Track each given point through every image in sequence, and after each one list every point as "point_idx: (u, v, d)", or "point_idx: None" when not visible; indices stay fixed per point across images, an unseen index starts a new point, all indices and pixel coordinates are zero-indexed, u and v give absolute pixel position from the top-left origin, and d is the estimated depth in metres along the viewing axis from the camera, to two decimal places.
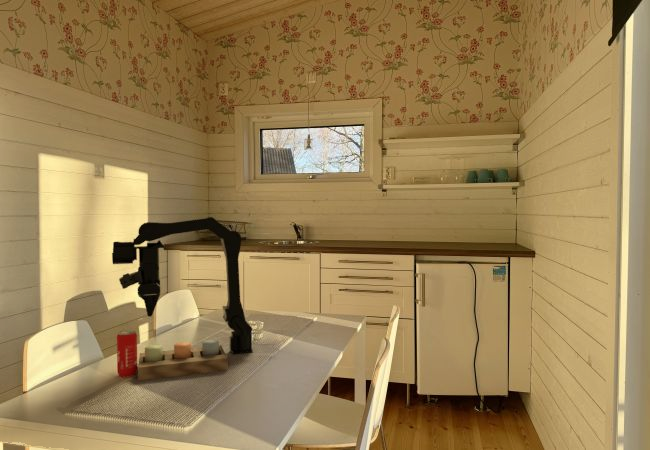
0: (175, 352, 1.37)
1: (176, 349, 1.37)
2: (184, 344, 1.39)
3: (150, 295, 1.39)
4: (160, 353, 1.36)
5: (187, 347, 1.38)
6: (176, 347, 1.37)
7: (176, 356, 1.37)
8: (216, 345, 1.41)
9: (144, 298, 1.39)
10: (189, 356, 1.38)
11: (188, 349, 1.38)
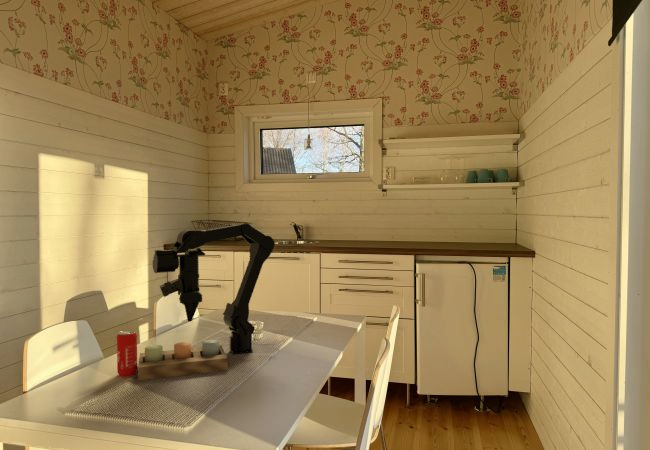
0: (175, 352, 1.37)
1: (176, 349, 1.37)
2: (184, 344, 1.39)
3: None
4: (160, 353, 1.36)
5: (187, 347, 1.38)
6: (176, 347, 1.37)
7: (176, 356, 1.37)
8: (216, 345, 1.41)
9: (185, 304, 1.44)
10: (189, 356, 1.38)
11: (188, 349, 1.38)
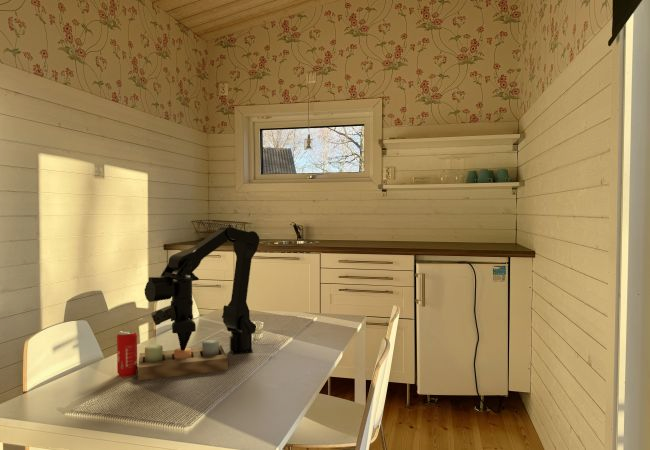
0: (175, 358, 1.37)
1: (176, 355, 1.37)
2: None
3: None
4: (160, 353, 1.36)
5: (187, 353, 1.38)
6: (176, 353, 1.37)
7: None
8: (216, 345, 1.41)
9: None
10: None
11: (188, 355, 1.38)
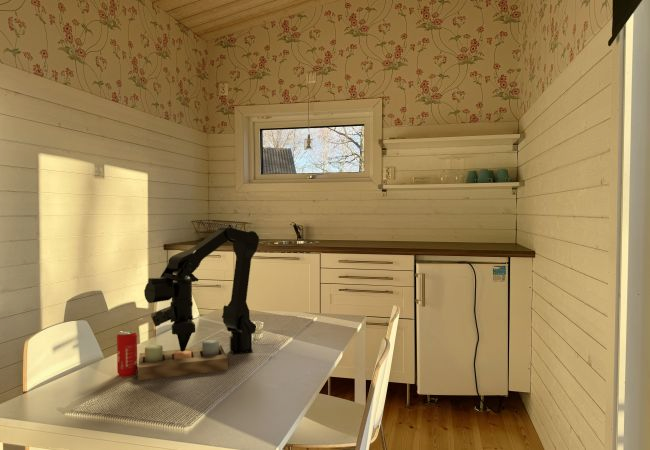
0: None
1: (176, 358, 1.37)
2: (184, 352, 1.39)
3: None
4: (160, 353, 1.36)
5: (187, 356, 1.38)
6: (176, 356, 1.37)
7: None
8: (216, 345, 1.41)
9: (177, 333, 1.36)
10: None
11: None
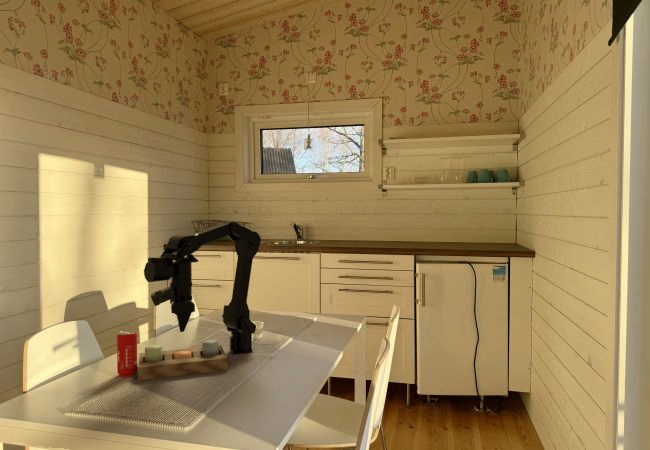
0: None
1: (176, 358, 1.37)
2: (184, 352, 1.39)
3: None
4: (160, 353, 1.36)
5: (187, 356, 1.38)
6: (176, 356, 1.37)
7: None
8: (216, 345, 1.41)
9: (177, 313, 1.36)
10: None
11: None
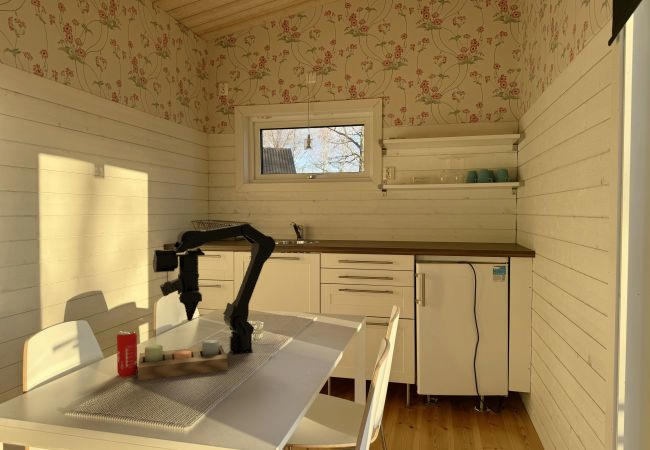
0: None
1: (176, 358, 1.37)
2: (184, 352, 1.39)
3: None
4: (160, 353, 1.36)
5: (187, 356, 1.38)
6: (176, 356, 1.37)
7: None
8: (216, 345, 1.41)
9: (185, 303, 1.45)
10: None
11: None
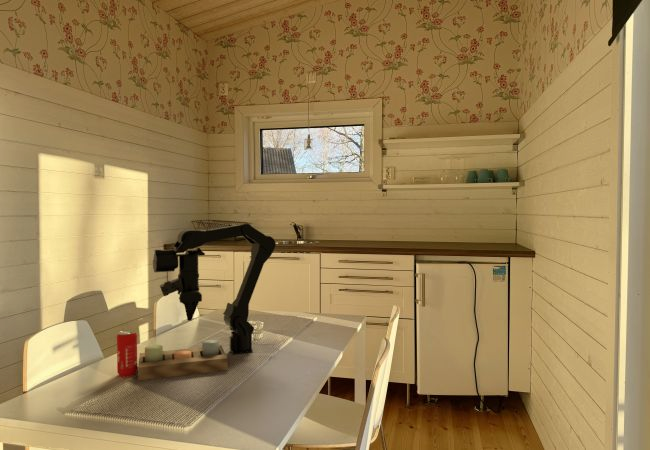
0: None
1: (176, 358, 1.37)
2: (184, 352, 1.39)
3: None
4: (160, 353, 1.36)
5: (187, 356, 1.38)
6: (176, 356, 1.37)
7: None
8: (216, 345, 1.41)
9: (185, 303, 1.45)
10: None
11: None
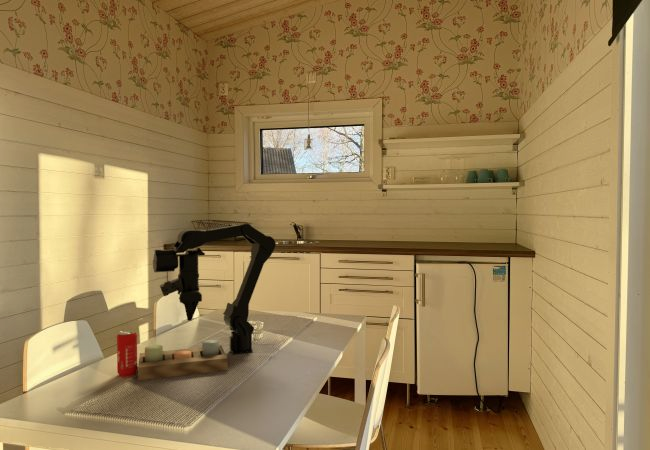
0: None
1: (176, 358, 1.37)
2: (184, 352, 1.39)
3: None
4: (160, 353, 1.36)
5: (187, 356, 1.38)
6: (176, 356, 1.37)
7: None
8: (216, 345, 1.41)
9: (185, 303, 1.45)
10: None
11: None
